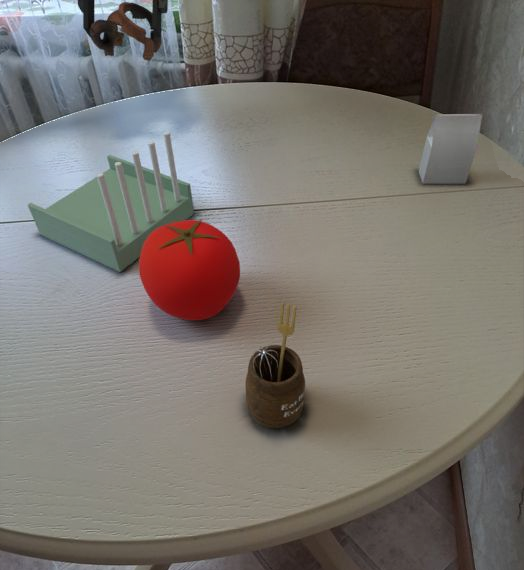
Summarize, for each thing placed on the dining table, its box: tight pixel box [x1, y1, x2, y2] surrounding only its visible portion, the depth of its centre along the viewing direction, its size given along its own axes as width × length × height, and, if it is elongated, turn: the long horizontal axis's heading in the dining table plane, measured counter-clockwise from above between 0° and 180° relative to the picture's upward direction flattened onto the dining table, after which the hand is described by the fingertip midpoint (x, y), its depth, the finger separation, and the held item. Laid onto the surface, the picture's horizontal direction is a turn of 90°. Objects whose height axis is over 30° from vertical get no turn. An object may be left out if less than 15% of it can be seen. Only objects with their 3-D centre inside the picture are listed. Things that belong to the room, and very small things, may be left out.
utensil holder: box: [245, 301, 306, 429], centre depth 48 cm, size 6×6×12 cm
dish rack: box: [27, 131, 195, 273], centre depth 69 cm, size 16×16×13 cm
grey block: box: [418, 113, 483, 185], centre depth 77 cm, size 4×7×10 cm, turn 89°
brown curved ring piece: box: [90, 1, 163, 62], centre depth 83 cm, size 12×10×8 cm
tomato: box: [138, 218, 241, 321], centre depth 59 cm, size 12×12×10 cm
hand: (122, 32), depth 80 cm, fingers closed on brown curved ring piece, 10 cm apart
